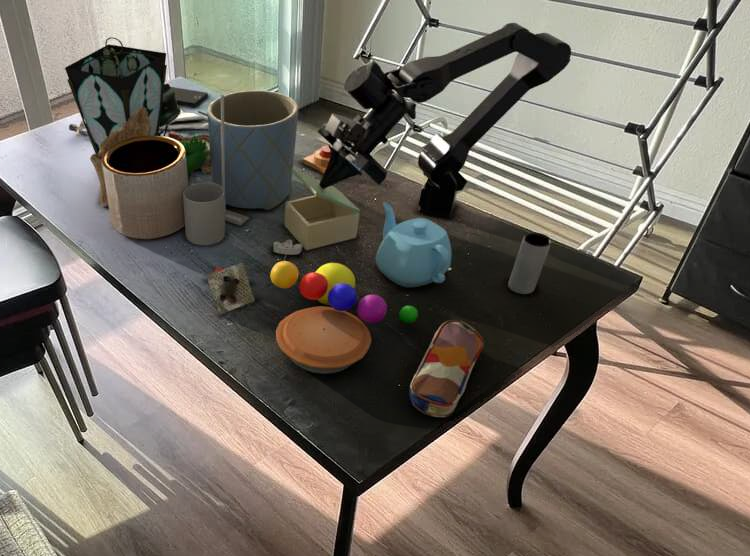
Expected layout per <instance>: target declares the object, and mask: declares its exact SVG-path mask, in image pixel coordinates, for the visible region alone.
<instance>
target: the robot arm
mask: <svg viewBox="0 0 750 556" xmlns="http://www.w3.org/2000/svg"><path fill="white" fill-rule="evenodd" d="M513 53H517V54H516V56H515V59H514V61H513V65H512V67H511V70H510V72H509V73H508V74H507V75H506V77H504V78H503V79H502V80H501V82H499V84H498V85H497V86H495V87H494V89H493V90H492V91H491V92H490V93H488V95H487V96H486V97H485V98H484V99H483V100H482V101H481V102H480V103H479V104H478V105H477V106H476V107H475V108H474V110H473V111H471V112H470V113H469V114H468V116H466V117H465V119H463V120H462V121H461V123H459V125H458V126H457V127H456V128H455V129H453V131H451V132H450V133H448V134H446V135H443V136H442V135H441V134H440V133H438V132H437V133H436V134H435V135H433V136H432V138H431V139H430V140H429V142H428V143H427V144H425V145H424V146H421V149H422V151H421V152H420V153H419V154H418V157H417V159H418V160H417V165H418V168H419V169H420V170H421V172H422V174H423V176H424V177H426V178H427V180H426V181H425V183H423V185H422V188H421V191H420V195H419V199H418V206H419V209H418V213H420V214H426V215H430V216H435V217H441V218H445V219H449V218H450V217H451V215H452V213H453V210H454V208H455V206H456V198H457V195H458V194H457V193H458V192H461V191H463V190H464V188H465V186H467V183H468V180H467V179H466V178H465V177H464V176H463V175H462V174H461V173H460V171H461V170H462V168H464V166H465V164H466V161H467V159H468V157H469V153H470V151H471V149H472V148H473V147H474V146H475V145H476V144H477V143H478V142H479V141H480V140H481V139H482V138H483V137H484V136H485V135H486V134H487V133H488V132H489V131H490V130H491V129H492V128H493V127H494V126H495V125H496V124H497V123H498V122H499V121H500V120H501V119H502V118H503V117H504V116H505V115H506V114H507V113H508V112H509V111H510V110H511V109H512V108H513V107H514V106H515V105H516V104H517V103H518V102H519V101H520V100H521V99H522V98H523V97H524V96H525V95H526V94H527V93H528V92H529V91H530V90H532V89H534V88H536V87H539V86H541V85H544V84H546V83H548V82H550V81H551V80H553V78H555V77H556V76H558V75H559V74H560V73H561V72H563V70H565V69H566V67H567V66H568V65H569V64H570V62H571V56H572V48H571V46H570V44H568V43H567V42H565V41H564V40H561V39H559V38H557V36H554V35H552V34H550V33H548V32H540V33H536V34H535V33H533V32H532V31H530V30H529V29H528V28H526V27H524V26H522V25H521V24H518V23H517V22H509V23H506V24H504V25H503V26H502V27H501V28H499V29H496V30H495V31H493V32H491V33H489V34H487V35H484V36H482V37H480V38H478V39H475V40H474V41H471V42H469V43H467V44H465V45H463V46H461V47H458V48H456V49H453V50H452V51H450V52H447V53H446V54H445V53H444V54H442V55H437V56H424V57H422V58H421V57H420V58H419V59H418V58H417V59H415V60H411V61H409V62H406V63H405V64H404V65H402V66H401V67H399V68H395V69H391V70H388V71H385V72H384V71H383V69H382V68H381V66H380V65H379V64H378V63H377V62H376V61H375V60H374V59H370V61H369V62H368V63H365V64H361V65H360V66H359V67H357V68H355V69H353V70H352V71H351V72H349V74H348V76H347V77H346V79H345V81H344V84H343V89H344V90H345V92H346V93H348V94H349V96H351V98H352V99H353V100H354V101H355V102H357V104H359V105H360V107H361V108H363V109H364V110H368V111H367V112H366V113H365V114H364V116H363V115H361V114H358V115H356V116H355V117H354V118H353V119H351V118H348V117H345V116H342V115H339V114H335V113H331V115H330V117H329V119H328V121H327V123H324V124H322V126H321V127H320V128H319V129H318V131H317V133H318V134H319V135H320V136H321V137H322V138H323V139H324V140H326V142H328V143H329V144H328V145H329V148H330V160H329V163H328V166H327V168H326V170H325V172H324V173H323V175H322V177H321V179H320V180H319V181H320V184H319V186H320V187H321V188H323V189H325V188H327V187H329V186H334V185H336V184H338V183H341V182H343V181H345V180H348V179H350V178H351V179H352V178H353V177H355V176H361V177H362V175H363V173H362V171H363V172H364V173H365V174H366V175H367V176H368V177H370V179H371V180H372V181H373V182H375V184H377V185H378V186H380V185H381V184H382V183H383V182H384V181H385V180H386V179H387V177H388V176H387V175H388V171H387V169H385V167H384V166H382V164H380V163H379V162H378V161H377V159H375V158H374V157H373V156H372V155H371V154H372V152H374V151H375V149H376V148H377V147H378V146H379V145H380V144H381V143H382V144H383V145H386V144H387V143H388V142H389V139H388V138H387V137H388V135H389V134H390V133H391V132H392V130H393V129H394V128H395V127H396V126H397V125H398V124H399V123H400V121H402V119H403V118H404V117H405V116H406V117H408V118H409V119H411V120H415V119H416V117H417V112H416V111H417V110H416V107H417V104H422V103H426V102H428V101H430V100H431V99H433V98H434V97H436V96H437V95H439V94H441V93H442V92H443V91H445V89H446V88H447V87H448V86H449V84H451V82H454V80H456V79H458V78H460V77H462V76H463V77H464V76H465V75H467V74H469V73H471V72H473V71H475V70H478V69H480V68H483V67H484V66H487V65H489V64H491V63H493V62H496V61H499V60H500V59H502V58H504V57H506V56H507V57H508V56H509V55H511V54H513ZM393 91H394V92H395V93H392V92H393ZM406 99H410V100H408V101H407V100H406ZM330 145H332V146H330Z"/></svg>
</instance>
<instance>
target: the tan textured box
mask: <svg viewBox="0 0 750 556" xmlns="http://www.w3.org/2000/svg"><path fill="white" fill-rule="evenodd" d="M222 269H223V270H221V271H218V272H215V273H213V272H212V273H213V274H212V273H210V274H207V275H206V279H207V282H208V285H209V288H210V292H211V296H212V298H213V301H214V304H215V306H216V309H217V312H218V315H223V314H225V313H228V312H230V311H233V310H236V309H237V308H240V307H243V306H245V305H248V304H251V303H252V302H253V303H254V302H255V301H256V298H255V296H254V293H253V290H252V287H251V285H250V280H249V281H248V278H249V277H248V274H247V272H246V269H245V265H244V262H240V263H237V264H234V265H232V266H229V267H226V268H222Z"/></svg>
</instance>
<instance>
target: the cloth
mask: <svg viewBox="0 0 750 556" xmlns="http://www.w3.org/2000/svg"><path fill="white" fill-rule="evenodd" d="M180 110H181V112H180V115H179V116H178V117H177V118H176V119H175V120H173V121H171V122H170V123H169V124H168V128H167V130H170V129H178V128H188V127H189V129H188V130H198V129H199V130H204V129H205V130H206V129H207V130H208V117H206V116H202V115H199V114H196V113H194V112H185V111H183V110H182V108H180ZM165 126H166V125H164V126H162V127H159V130H164V129H165ZM192 126H193V127H192Z"/></svg>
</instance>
